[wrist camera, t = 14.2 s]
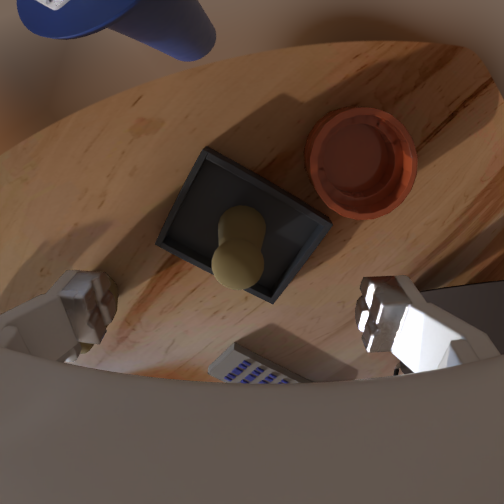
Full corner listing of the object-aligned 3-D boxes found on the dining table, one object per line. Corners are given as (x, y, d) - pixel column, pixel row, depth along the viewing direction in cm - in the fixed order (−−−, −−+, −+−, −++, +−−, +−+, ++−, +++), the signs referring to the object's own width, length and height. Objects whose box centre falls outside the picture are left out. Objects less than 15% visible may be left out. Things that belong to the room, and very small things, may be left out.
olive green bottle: (275, 219, 39) (281, 262, 29) (251, 257, 41) (249, 308, 31) (231, 196, 37) (222, 233, 28) (209, 236, 40) (194, 283, 30)
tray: (160, 236, 40) (154, 244, 38) (206, 145, 35) (202, 148, 33) (272, 293, 44) (273, 304, 42) (328, 217, 39) (333, 224, 37)
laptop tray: (386, 264, 49) (379, 302, 42) (513, 249, 35) (526, 287, 29) (401, 351, 58) (394, 386, 52) (501, 343, 45) (504, 380, 38)
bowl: (283, 171, 36) (287, 181, 32) (339, 86, 31) (352, 84, 27) (363, 222, 39) (375, 238, 35) (416, 146, 34) (435, 154, 30)
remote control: (234, 341, 49) (233, 350, 47) (330, 390, 55) (332, 398, 53) (208, 365, 52) (207, 374, 50) (302, 409, 58) (303, 417, 56)
